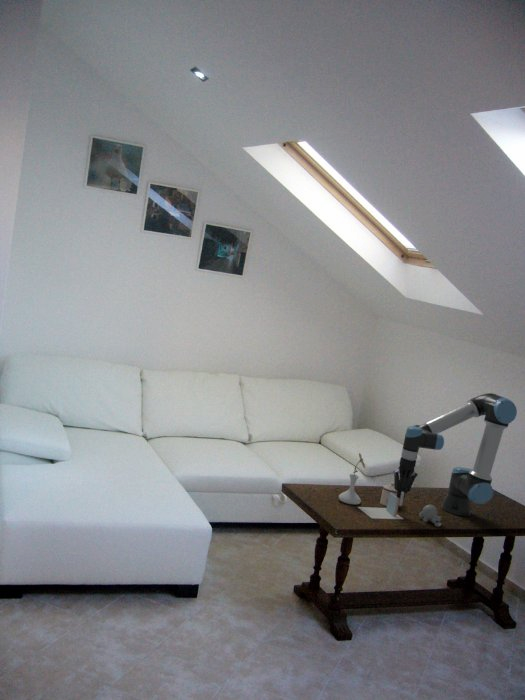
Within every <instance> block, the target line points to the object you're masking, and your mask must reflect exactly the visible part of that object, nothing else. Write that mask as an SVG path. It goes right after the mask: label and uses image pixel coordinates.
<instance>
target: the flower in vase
mask: <svg viewBox="0 0 525 700" xmlns="http://www.w3.org/2000/svg"><path fill="white" fill-rule="evenodd" d="M358 457H359V460H358V462H357V463H356V465H355V466H354V471H352V474H351V473H350V474H348V476H349V478H350V485H349V488H348V489H347V490H346V491H343V492H342V493H340V494H339V495H338V496H337V497H338V499H339V501H341V502H342V503H344V504H348V505H360V503H361V502H362V499H361V498H360V496H359V495H358V494H357V493H356V491H355V485H356V483H357V481H358V479H359V478H360V476H359V475H357V474H356V473H358V470H357V466H358V465H359V463H361V465H362V467H363V468H364V469H365V468H366V464H365V463H364V458H362V454H361V452H359V453H358Z"/></svg>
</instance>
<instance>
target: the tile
mask: <svg viewBox="0 0 525 700" xmlns="http://www.w3.org/2000/svg"><path fill="white" fill-rule="evenodd" d="M399 501H400V498H398V497H397V496H396V495H394V494H393V493H389V498H388V503H387V506H386V507H385V508H386V511H387V512H389V513H390V514H391V515H393V516H396V515H397V514H398V510H399Z"/></svg>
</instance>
